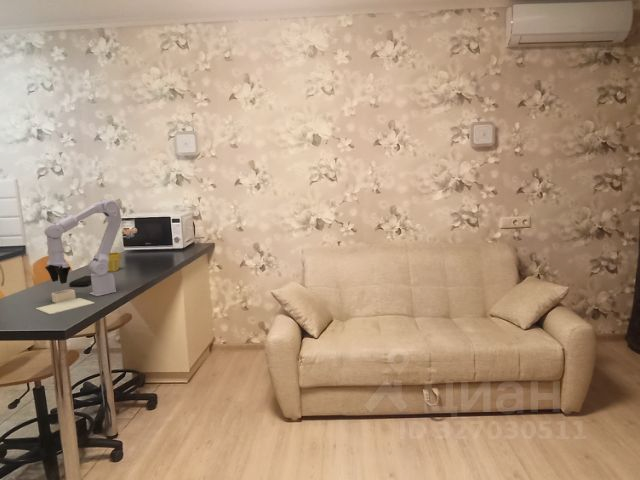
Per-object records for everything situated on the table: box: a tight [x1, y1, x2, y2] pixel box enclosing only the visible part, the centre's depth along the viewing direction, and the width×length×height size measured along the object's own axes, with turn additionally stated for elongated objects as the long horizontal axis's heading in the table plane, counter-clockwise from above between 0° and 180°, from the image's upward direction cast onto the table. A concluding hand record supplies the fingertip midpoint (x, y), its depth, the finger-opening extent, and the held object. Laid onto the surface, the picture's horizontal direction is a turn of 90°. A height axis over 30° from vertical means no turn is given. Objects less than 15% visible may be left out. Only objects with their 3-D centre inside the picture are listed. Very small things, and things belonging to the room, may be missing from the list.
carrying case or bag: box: [68, 275, 92, 288], centre depth 238 cm, size 11×3×15 cm
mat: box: [35, 297, 95, 316], centre depth 198 cm, size 18×14×1 cm
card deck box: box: [51, 288, 77, 304], centre depth 208 cm, size 8×5×4 cm, turn 139°
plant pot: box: [108, 251, 122, 273], centre depth 267 cm, size 10×10×10 cm
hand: (59, 282), depth 205 cm, fingers open, 7 cm apart
